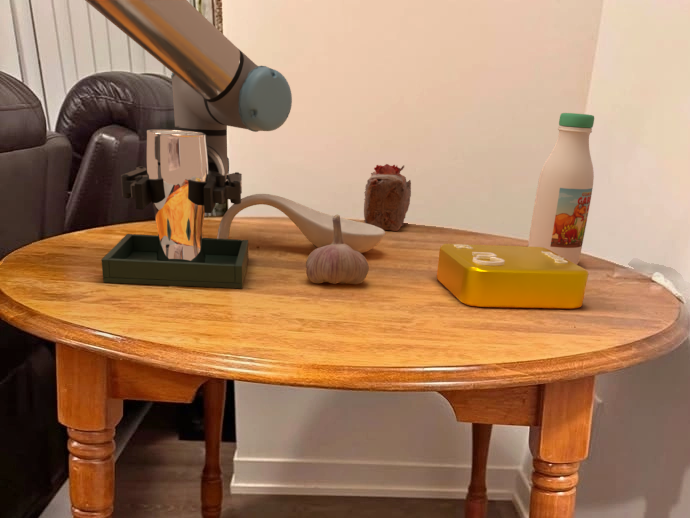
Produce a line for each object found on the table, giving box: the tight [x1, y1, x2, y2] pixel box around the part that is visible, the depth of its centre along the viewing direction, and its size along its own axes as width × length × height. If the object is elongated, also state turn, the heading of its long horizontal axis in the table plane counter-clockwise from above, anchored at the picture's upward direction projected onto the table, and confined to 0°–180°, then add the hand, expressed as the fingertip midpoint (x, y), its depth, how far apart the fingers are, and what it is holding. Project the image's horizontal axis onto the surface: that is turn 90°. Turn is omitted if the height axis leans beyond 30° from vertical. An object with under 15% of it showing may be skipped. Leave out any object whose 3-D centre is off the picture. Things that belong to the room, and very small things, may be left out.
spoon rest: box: [216, 193, 386, 254], centre depth 110 cm, size 24×12×7 cm, turn 92°
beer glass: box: [146, 129, 208, 263], centre depth 92 cm, size 7×7×15 cm
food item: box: [363, 163, 412, 232], centre depth 133 cm, size 14×8×10 cm, turn 177°
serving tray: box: [101, 233, 249, 290], centre depth 95 cm, size 16×16×3 cm
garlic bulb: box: [305, 214, 370, 285], centre depth 93 cm, size 8×7×8 cm
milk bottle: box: [527, 112, 595, 265], centre depth 110 cm, size 8×8×20 cm
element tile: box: [436, 243, 589, 310], centre depth 95 cm, size 15×15×5 cm
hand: (173, 198), depth 87 cm, fingers closed on beer glass, 7 cm apart
